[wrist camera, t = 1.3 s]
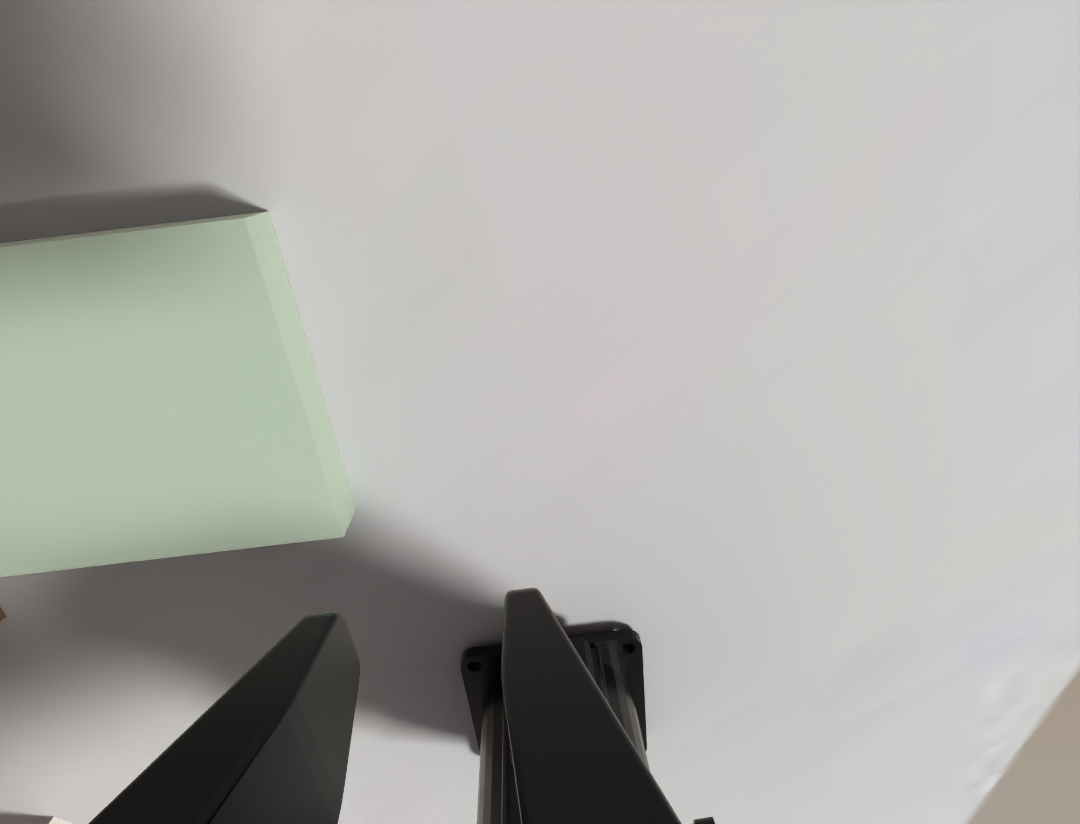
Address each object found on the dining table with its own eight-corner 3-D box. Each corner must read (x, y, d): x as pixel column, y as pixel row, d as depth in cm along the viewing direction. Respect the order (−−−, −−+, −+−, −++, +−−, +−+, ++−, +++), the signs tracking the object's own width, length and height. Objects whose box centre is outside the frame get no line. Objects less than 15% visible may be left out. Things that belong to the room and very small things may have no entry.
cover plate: (359, 499, 19) (344, 537, 17) (25, 538, 19) (-27, 580, 17) (276, 208, 15) (244, 218, 13) (-143, 258, 15) (-233, 275, 13)
